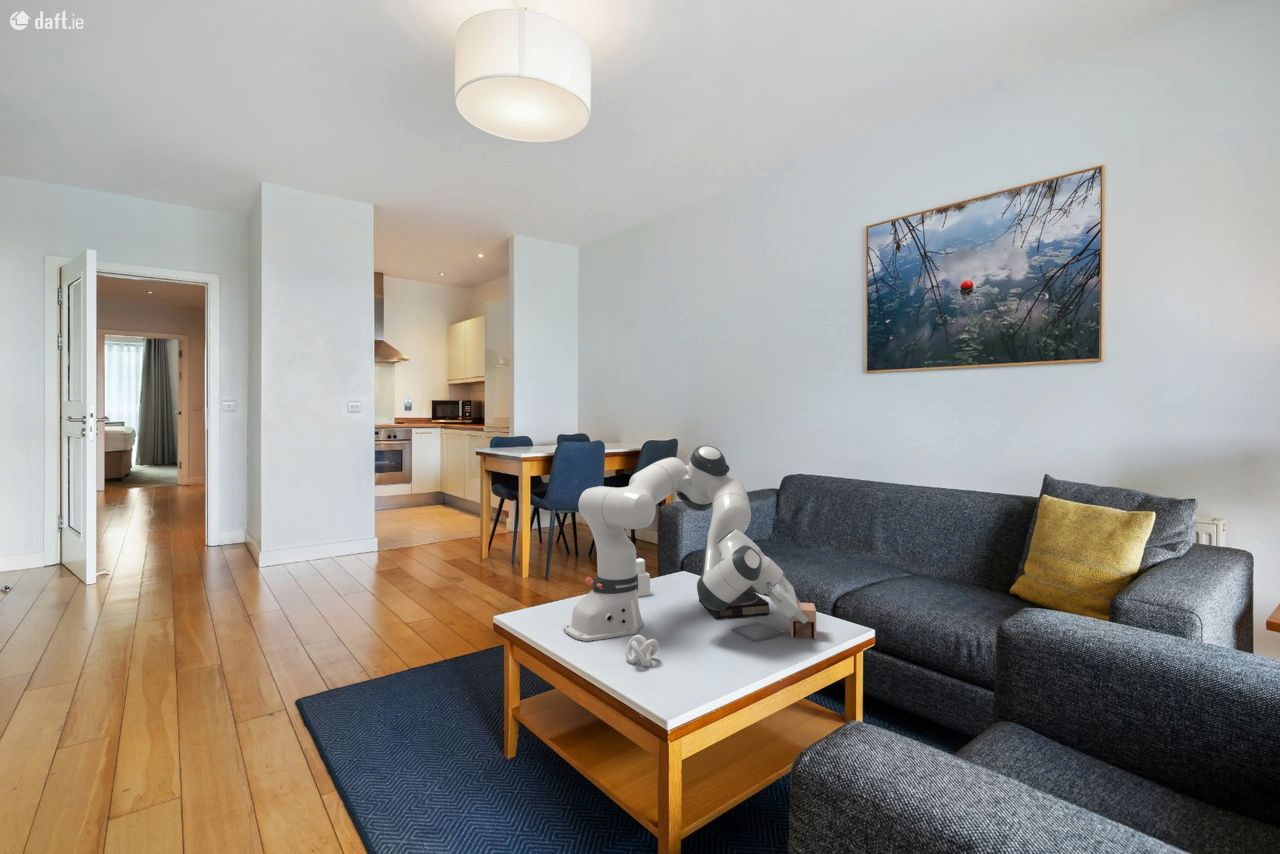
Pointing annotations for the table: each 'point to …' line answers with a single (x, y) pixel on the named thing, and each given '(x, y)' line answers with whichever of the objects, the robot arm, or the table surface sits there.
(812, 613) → the tan square arch
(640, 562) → the white block with cylinder
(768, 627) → the slate mat
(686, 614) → the table surface
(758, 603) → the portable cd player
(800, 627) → the walnut block
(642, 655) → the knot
